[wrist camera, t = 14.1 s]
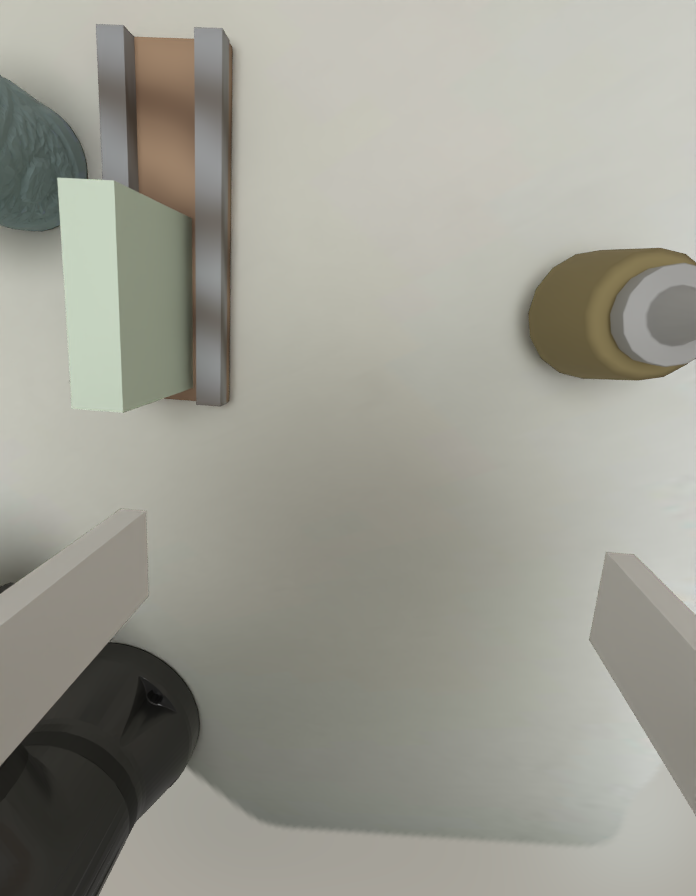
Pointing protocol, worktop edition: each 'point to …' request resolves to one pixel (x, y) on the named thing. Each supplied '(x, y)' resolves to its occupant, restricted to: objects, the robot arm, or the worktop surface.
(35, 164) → the teal cup
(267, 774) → the worktop surface
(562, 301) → the squeeze bottle
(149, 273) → the door panel
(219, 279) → the track base
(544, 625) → the worktop surface
